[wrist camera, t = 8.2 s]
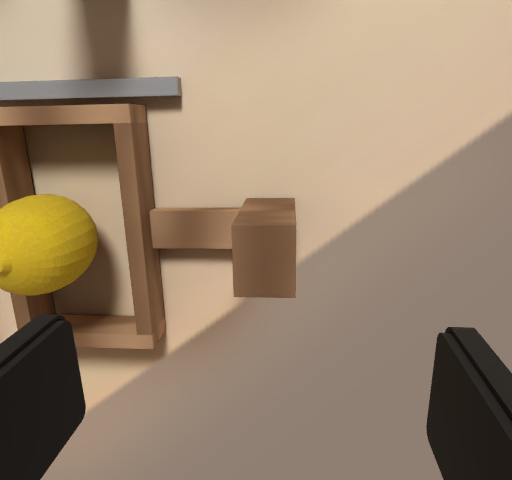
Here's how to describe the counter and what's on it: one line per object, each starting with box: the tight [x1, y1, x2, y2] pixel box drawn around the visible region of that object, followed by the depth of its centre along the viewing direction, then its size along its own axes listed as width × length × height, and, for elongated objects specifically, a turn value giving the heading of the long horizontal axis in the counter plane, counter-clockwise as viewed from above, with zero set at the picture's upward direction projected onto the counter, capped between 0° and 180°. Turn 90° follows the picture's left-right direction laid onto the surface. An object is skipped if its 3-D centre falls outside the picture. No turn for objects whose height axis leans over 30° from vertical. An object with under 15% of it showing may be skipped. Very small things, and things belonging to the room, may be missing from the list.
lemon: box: [0, 194, 98, 296], centre depth 24 cm, size 6×6×8 cm
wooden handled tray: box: [0, 104, 296, 349], centre depth 23 cm, size 18×15×7 cm
